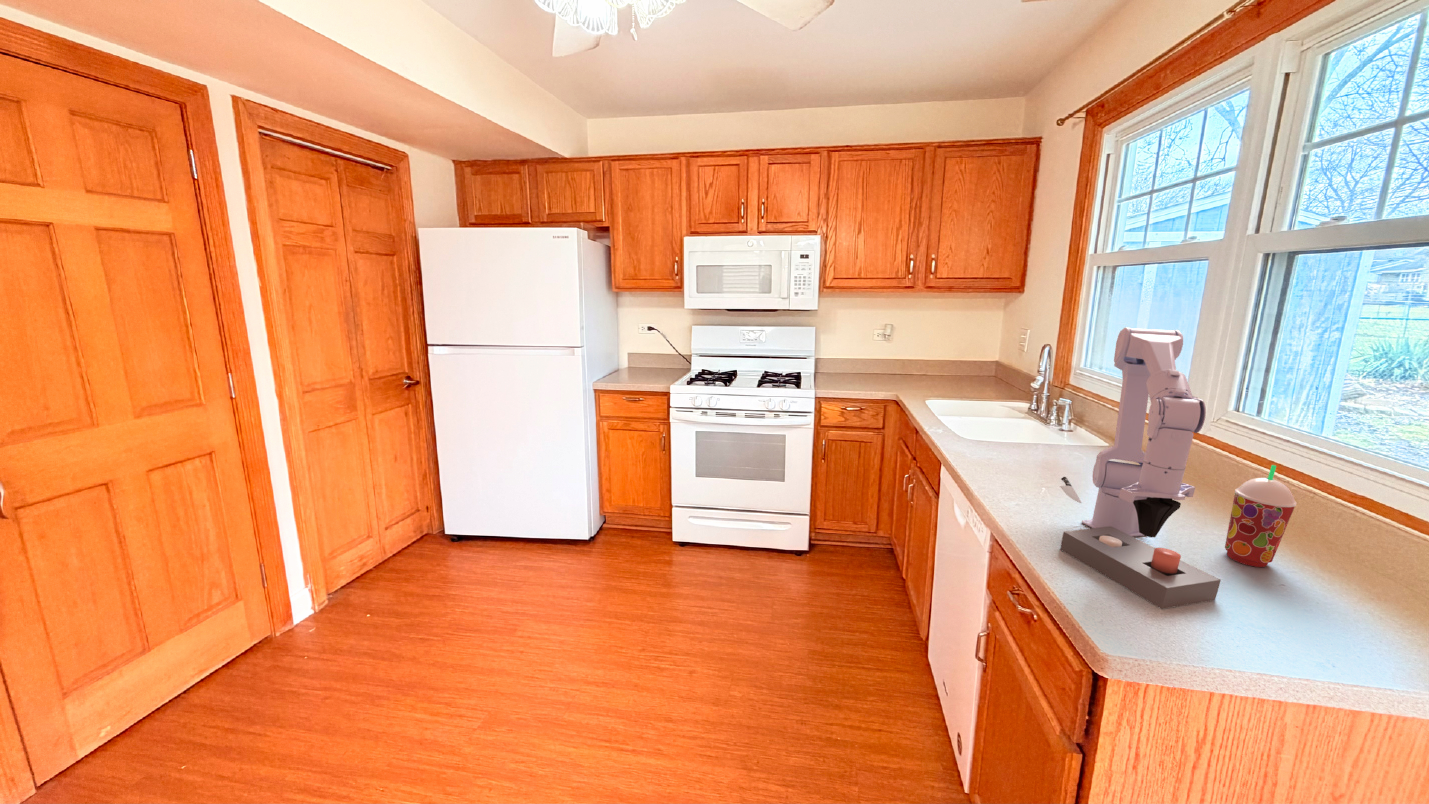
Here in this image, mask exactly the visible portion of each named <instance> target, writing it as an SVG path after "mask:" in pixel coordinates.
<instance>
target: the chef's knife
mask: <svg viewBox="0 0 1429 804" xmlns="http://www.w3.org/2000/svg"><path fill="white" fill-rule="evenodd" d="M1061 480H1063V482H1064V483H1065V485H1060V486H1059V488H1060V489H1061V490H1062V491H1063V492H1064V493H1065V494H1066V496H1068V497H1069V498H1070V499H1072V500H1073V501H1075V502H1077V503H1079V504H1083V503H1082V501H1081V499H1080V497H1079V495H1078V493H1077V492H1076V490H1075V489H1074V487H1073V486H1072V484H1071V483H1070V481H1069V479H1068V477H1067V476H1063V477H1061Z"/></svg>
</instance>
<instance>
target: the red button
mask: <svg viewBox="0 0 1429 804" xmlns="http://www.w3.org/2000/svg"><path fill="white" fill-rule="evenodd" d="M1181 559H1182V555H1181V554H1179V552H1177V551H1175V550H1172V549H1169V548H1164V547H1155V549H1154V553H1153V557H1152V562H1151V566H1152V567H1153V568H1155V569H1157V570H1159V571H1162V572H1165V573H1170V574H1174V573H1177V570H1178V566H1179V562H1180V560H1181Z"/></svg>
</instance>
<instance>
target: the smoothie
mask: <svg viewBox="0 0 1429 804" xmlns="http://www.w3.org/2000/svg"><path fill="white" fill-rule="evenodd" d="M1276 469H1277V465H1276V464H1271V467H1270V470H1269V472H1268V476H1267V477H1255V478H1250V479H1249V480H1247V481H1245V482H1243V483H1242V484H1241V485H1240V486H1239V487H1237V488H1235V489H1234V496H1233V500H1232V506H1231V513H1230V517H1229V523H1228V529H1227V533H1226V538H1225V543H1224V544H1225V545H1224V549H1225V550H1226V555H1227V557H1229V558H1230V559H1231V560H1233V561H1235V562H1237V563H1240V564H1243V565H1245V566H1250V567H1255V568H1265V567H1266V566H1267V565H1268V564H1269V563H1272V562H1273V561H1274V558H1275V556H1276V553H1277V551H1278V549H1279V546H1280V543H1281V541H1282V538H1283V537H1284V533H1285V532H1286V529H1287V527H1288V524H1289V522H1290V520H1291V517H1292V514H1293V513H1294V509H1295V507H1296V506H1297V503H1298V502H1297V501H1296V500H1295V497H1294V495H1293V493H1292V491H1291V490H1290V488H1289V487H1288V486H1287V485H1286V484H1284V483H1283V482H1281V481H1279V480H1276V479H1274V476H1275V473H1276Z"/></svg>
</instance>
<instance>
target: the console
mask: <svg viewBox="0 0 1429 804" xmlns="http://www.w3.org/2000/svg"><path fill="white" fill-rule="evenodd" d="M1103 535H1105V536H1111V537H1114V538H1117V539H1119V540H1121V541H1122V546H1120V547H1111V546H1109V545H1107V544H1105V543H1103V542H1101V541H1099V538H1100V536H1103ZM1155 548H1156V547H1154V546H1153V545H1150V544H1148V543H1146V542H1145V541H1142V540H1140V539H1138V538H1137V537H1132V536H1130V535H1128V534H1126V533H1124V532H1122V531H1120V530H1118V529H1116V528H1113V527H1111V526H1108V527H1100V528H1091V527H1090V528H1084V529H1075V530H1066V531H1063V534H1062V538H1061V544H1060V551H1062V552H1064V553H1066V554H1067V555H1069V556H1070V557H1072V558H1073V559H1076V560H1077V561H1079V562H1081V563H1082V564H1084V565H1086V566H1088V567H1089V568H1091V569H1092V570H1094V571H1096V572H1098V573H1100V575H1102V576H1105V577H1106V578H1108V579H1110V580H1111V581H1113V582H1115V583H1116V584H1118V585H1119V586H1122V587H1124V588H1125V589H1127V590H1128V591H1130V592H1132V593H1134V594H1135V595H1137V596H1138V597H1140V598H1142V599H1144V600H1146V601H1147V602H1150V603H1151V604H1152V605H1155V606H1156V607H1158V608H1160V609H1161V610H1165V609H1170V608H1176V607H1182V606H1188V605H1189V606H1190V605H1194V604H1201V603H1207V602H1212V601H1216V599H1217V595H1218V591H1219V589H1220V588H1219V587H1220V585H1221V580H1222V579H1220V578H1219V577H1216V576H1214V575H1212V574H1210V573H1208V572H1206V571H1204V570H1201V569H1199V568H1198V567H1196V566H1193V565H1191V564H1189V563H1188V562H1185V561H1183V560H1181V559H1180V562H1179V566H1178V570H1177V573H1174V574H1170V573H1165V572H1162V571H1159V570H1157V569H1155V568H1153V567H1152V566H1151V562H1152V557H1153V553H1154V549H1155Z"/></svg>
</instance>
